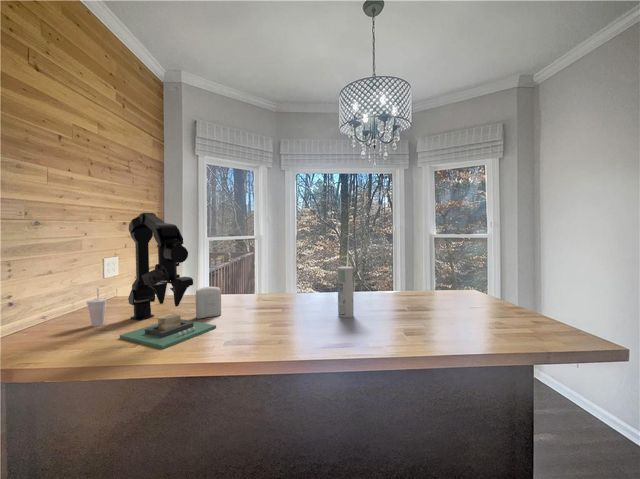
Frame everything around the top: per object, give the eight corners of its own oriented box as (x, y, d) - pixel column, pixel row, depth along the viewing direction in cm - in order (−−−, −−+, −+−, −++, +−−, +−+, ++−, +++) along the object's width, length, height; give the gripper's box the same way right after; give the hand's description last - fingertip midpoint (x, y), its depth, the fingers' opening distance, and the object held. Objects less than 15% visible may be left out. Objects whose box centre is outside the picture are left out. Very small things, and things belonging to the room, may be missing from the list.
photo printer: (219, 313, 139) (219, 284, 138) (222, 315, 135) (222, 286, 134) (194, 317, 133) (193, 287, 132) (197, 319, 129) (196, 289, 129)
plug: (158, 331, 112) (157, 317, 112) (175, 326, 118) (174, 312, 118) (165, 333, 110) (165, 319, 110) (182, 327, 116) (182, 314, 116)
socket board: (119, 338, 109) (119, 330, 109) (175, 320, 129) (175, 314, 128) (163, 349, 99) (162, 341, 99) (216, 328, 119) (216, 321, 118)
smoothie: (111, 323, 125) (110, 288, 124) (94, 328, 119) (92, 291, 119) (101, 321, 128) (99, 286, 127) (83, 326, 122) (82, 290, 121)
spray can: (356, 316, 131) (356, 267, 130) (342, 318, 129) (341, 268, 128) (349, 312, 137) (349, 265, 136) (335, 314, 135) (335, 266, 134)
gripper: (128, 262, 110) (130, 307, 110) (165, 264, 101) (166, 313, 102) (157, 258, 120) (159, 300, 120) (193, 261, 111) (195, 305, 112)
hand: (169, 305), depth 113 cm, fingers open, 8 cm apart
